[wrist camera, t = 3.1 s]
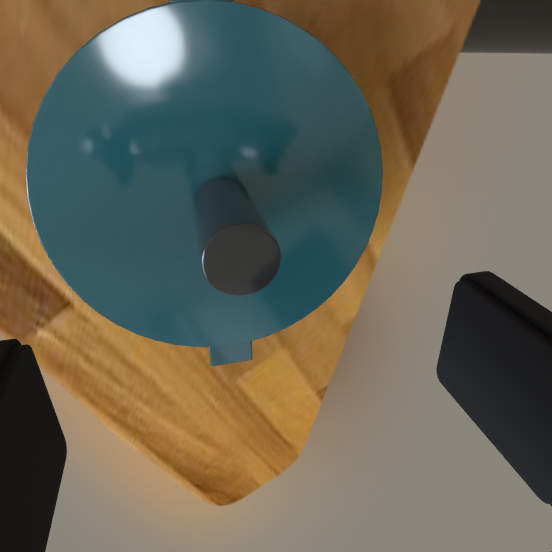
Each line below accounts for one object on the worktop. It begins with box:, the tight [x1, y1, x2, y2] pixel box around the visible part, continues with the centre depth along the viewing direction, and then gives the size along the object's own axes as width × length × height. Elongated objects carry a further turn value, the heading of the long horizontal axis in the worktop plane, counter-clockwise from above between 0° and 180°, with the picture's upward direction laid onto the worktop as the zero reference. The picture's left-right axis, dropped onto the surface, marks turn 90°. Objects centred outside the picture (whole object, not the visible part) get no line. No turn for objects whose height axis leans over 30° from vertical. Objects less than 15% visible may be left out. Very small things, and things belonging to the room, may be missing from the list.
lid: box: [26, 0, 383, 347], centre depth 16 cm, size 15×15×7 cm
